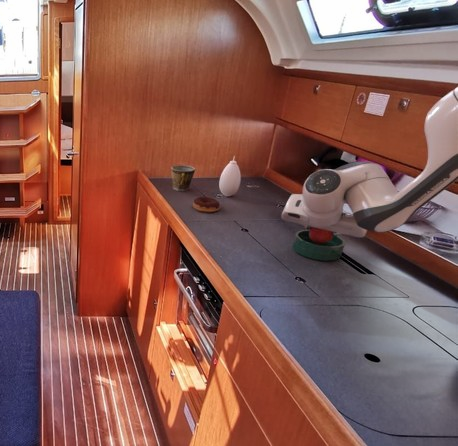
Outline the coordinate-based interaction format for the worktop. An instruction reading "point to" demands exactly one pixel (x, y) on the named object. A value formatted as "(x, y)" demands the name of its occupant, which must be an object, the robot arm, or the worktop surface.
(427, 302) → the worktop surface
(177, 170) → the ceramic cup
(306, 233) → the bowl
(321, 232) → the red pomegranate
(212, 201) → the donut
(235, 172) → the white tall oval
